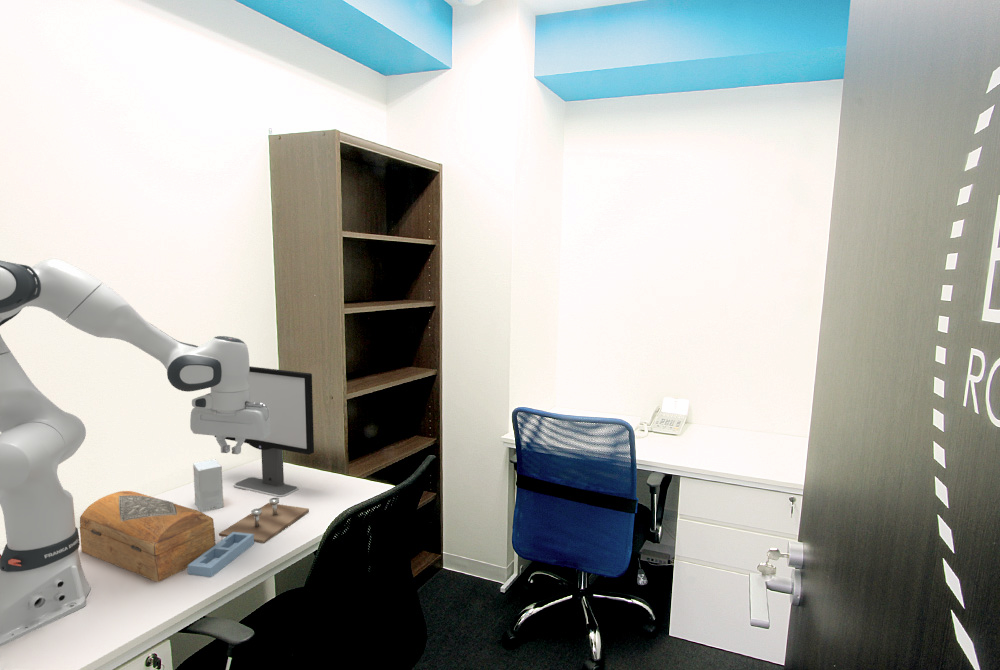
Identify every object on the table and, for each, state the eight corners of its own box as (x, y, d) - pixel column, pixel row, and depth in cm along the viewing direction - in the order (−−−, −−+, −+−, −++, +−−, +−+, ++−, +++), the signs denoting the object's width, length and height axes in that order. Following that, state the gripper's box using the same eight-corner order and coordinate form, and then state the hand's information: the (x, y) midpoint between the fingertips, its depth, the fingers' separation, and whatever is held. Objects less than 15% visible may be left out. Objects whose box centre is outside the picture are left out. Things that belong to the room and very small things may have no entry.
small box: (224, 507, 165) (222, 466, 163) (200, 513, 161) (198, 470, 159) (217, 498, 171) (215, 458, 169) (194, 504, 167) (192, 462, 165)
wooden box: (221, 555, 138) (218, 503, 136) (155, 589, 123) (151, 531, 122) (147, 528, 151) (144, 480, 150) (80, 556, 137) (76, 503, 135)
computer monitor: (210, 481, 184) (204, 364, 179) (231, 473, 192) (226, 360, 187) (306, 503, 168) (302, 375, 163) (324, 493, 176) (321, 371, 171)
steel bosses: (257, 529, 150) (257, 513, 149) (249, 527, 150) (249, 511, 150) (281, 513, 159) (281, 498, 159) (273, 512, 160) (273, 497, 159)
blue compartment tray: (254, 544, 143) (253, 534, 143) (211, 580, 127) (210, 568, 127) (233, 542, 144) (232, 531, 144) (188, 577, 128) (187, 565, 128)
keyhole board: (263, 544, 143) (263, 540, 143) (219, 536, 147) (219, 533, 147) (308, 511, 163) (308, 508, 163) (268, 505, 166) (268, 502, 166)
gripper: (275, 400, 140) (275, 452, 142) (202, 394, 143) (203, 445, 145) (261, 406, 134) (261, 460, 136) (185, 399, 137) (186, 453, 138)
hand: (230, 453), depth 140 cm, fingers closed
